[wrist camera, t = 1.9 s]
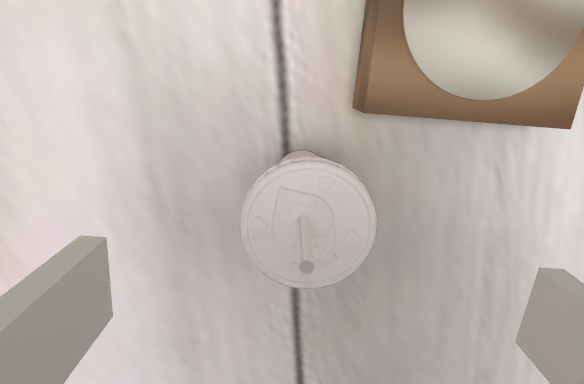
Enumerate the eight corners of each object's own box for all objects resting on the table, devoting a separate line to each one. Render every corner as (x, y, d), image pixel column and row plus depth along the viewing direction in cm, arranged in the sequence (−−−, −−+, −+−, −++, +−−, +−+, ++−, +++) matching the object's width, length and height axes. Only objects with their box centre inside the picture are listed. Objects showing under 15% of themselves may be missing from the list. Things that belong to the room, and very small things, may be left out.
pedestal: (527, 121, 25) (575, 130, 21) (352, 107, 25) (365, 113, 20) (582, -86, 21) (653, -126, 17) (379, -106, 21) (401, -152, 17)
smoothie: (316, 112, 25) (349, 152, 11) (363, 189, 26) (440, 303, 13) (238, 162, 26) (183, 253, 12) (287, 233, 27) (287, 383, 14)
